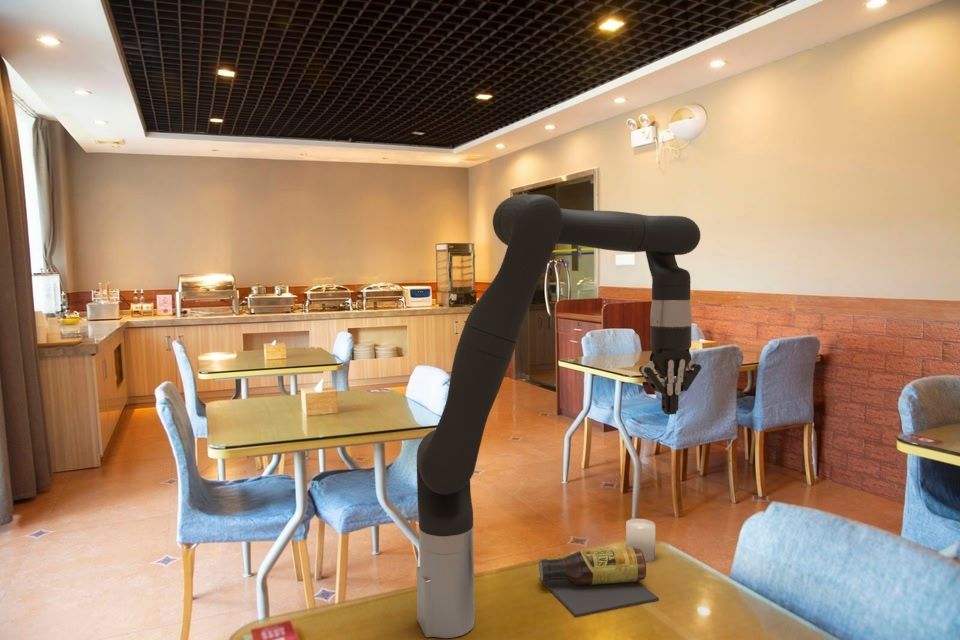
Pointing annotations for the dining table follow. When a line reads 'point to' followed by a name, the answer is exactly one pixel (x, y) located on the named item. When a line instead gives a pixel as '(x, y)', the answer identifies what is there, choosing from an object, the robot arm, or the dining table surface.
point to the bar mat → (599, 596)
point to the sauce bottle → (596, 567)
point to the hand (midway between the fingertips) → (670, 413)
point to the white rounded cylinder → (641, 537)
